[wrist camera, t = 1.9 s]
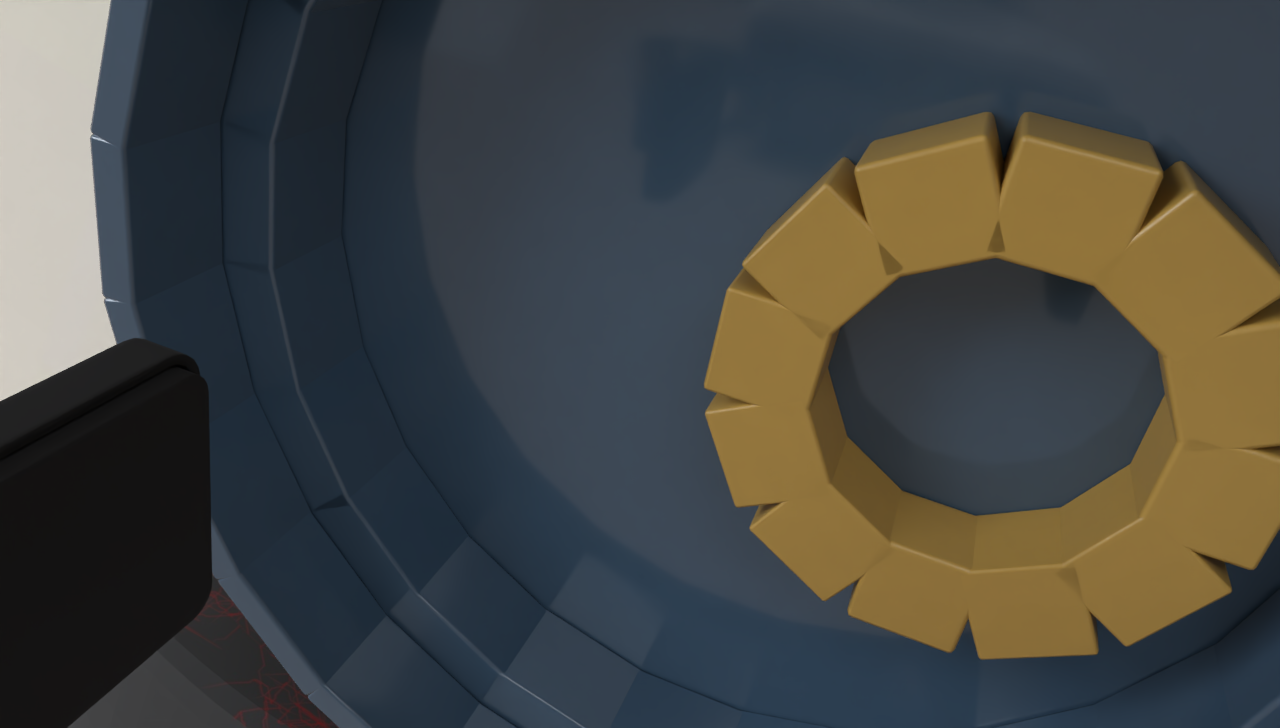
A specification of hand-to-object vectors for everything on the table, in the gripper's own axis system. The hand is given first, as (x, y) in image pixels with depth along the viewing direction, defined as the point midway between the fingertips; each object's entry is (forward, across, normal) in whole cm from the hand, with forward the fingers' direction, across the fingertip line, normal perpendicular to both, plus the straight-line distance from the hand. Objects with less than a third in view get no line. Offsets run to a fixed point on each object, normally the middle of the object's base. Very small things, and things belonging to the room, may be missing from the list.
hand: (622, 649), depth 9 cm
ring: (+8, -3, 0) cm, 8 cm away
